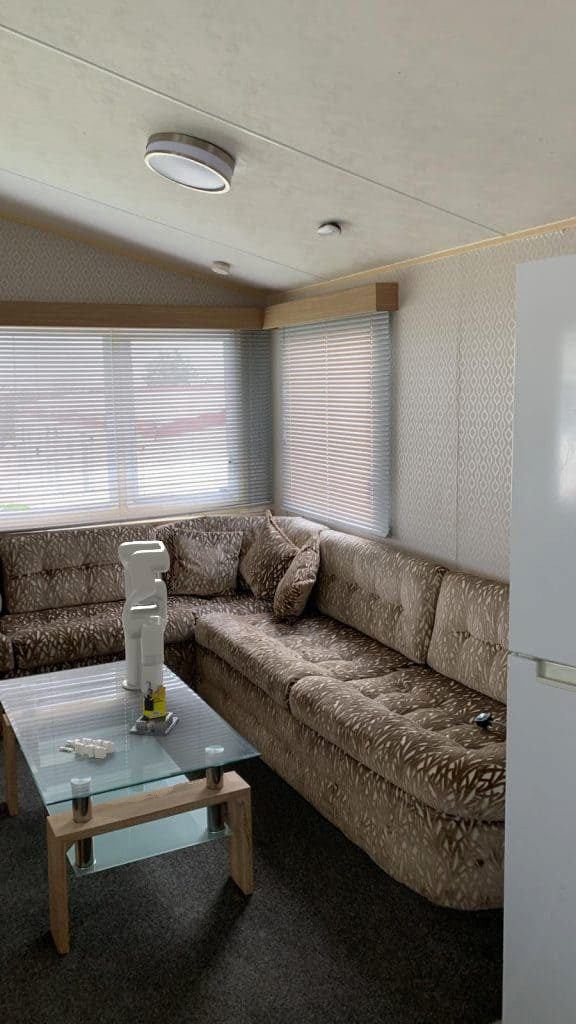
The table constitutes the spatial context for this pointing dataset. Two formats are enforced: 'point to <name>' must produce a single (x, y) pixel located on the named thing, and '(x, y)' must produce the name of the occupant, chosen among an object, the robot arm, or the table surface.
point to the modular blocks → (90, 747)
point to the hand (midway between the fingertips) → (153, 705)
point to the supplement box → (156, 705)
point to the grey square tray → (154, 725)
